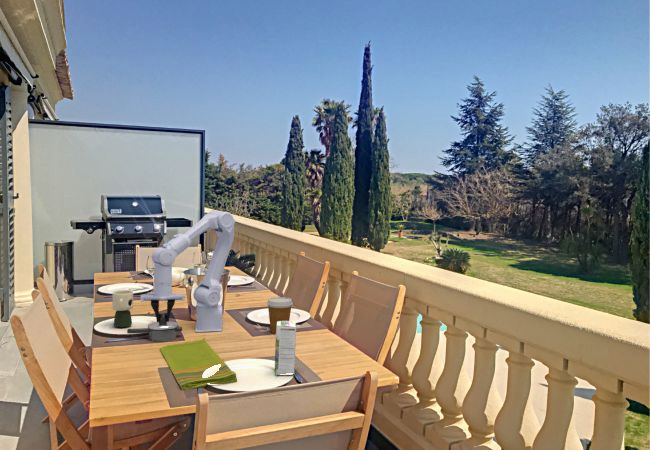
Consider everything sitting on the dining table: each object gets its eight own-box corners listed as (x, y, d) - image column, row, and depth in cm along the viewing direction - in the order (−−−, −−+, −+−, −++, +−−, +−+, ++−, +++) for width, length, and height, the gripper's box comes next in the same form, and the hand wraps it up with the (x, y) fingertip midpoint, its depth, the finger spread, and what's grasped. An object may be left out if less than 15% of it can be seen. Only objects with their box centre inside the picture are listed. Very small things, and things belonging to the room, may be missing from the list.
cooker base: (182, 332, 185) (182, 323, 184) (181, 340, 176) (182, 330, 176) (129, 335, 180) (129, 325, 180) (125, 342, 172) (125, 332, 171)
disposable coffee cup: (296, 330, 192) (297, 298, 191) (284, 336, 184) (284, 303, 183) (274, 326, 196) (275, 295, 195) (261, 332, 188) (261, 300, 187)
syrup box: (274, 368, 152) (275, 320, 151) (294, 368, 152) (296, 320, 151) (274, 376, 146) (275, 326, 145) (295, 376, 147) (296, 326, 145)
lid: (179, 325, 184) (179, 311, 184) (176, 331, 174) (176, 316, 174) (150, 326, 182) (150, 311, 182) (145, 332, 172) (145, 317, 172)
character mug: (131, 330, 186) (131, 294, 185) (110, 331, 184) (109, 295, 183) (134, 322, 197) (134, 288, 196) (115, 322, 195) (114, 289, 194)
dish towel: (181, 393, 134) (181, 381, 134) (158, 351, 166) (158, 341, 165) (238, 384, 141) (238, 372, 141) (206, 346, 173) (206, 336, 172)
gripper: (139, 285, 172) (139, 325, 173) (184, 284, 175) (184, 323, 176) (141, 281, 178) (141, 319, 179) (185, 280, 182) (184, 318, 183)
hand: (162, 321), depth 178 cm, fingers closed on lid, 3 cm apart
